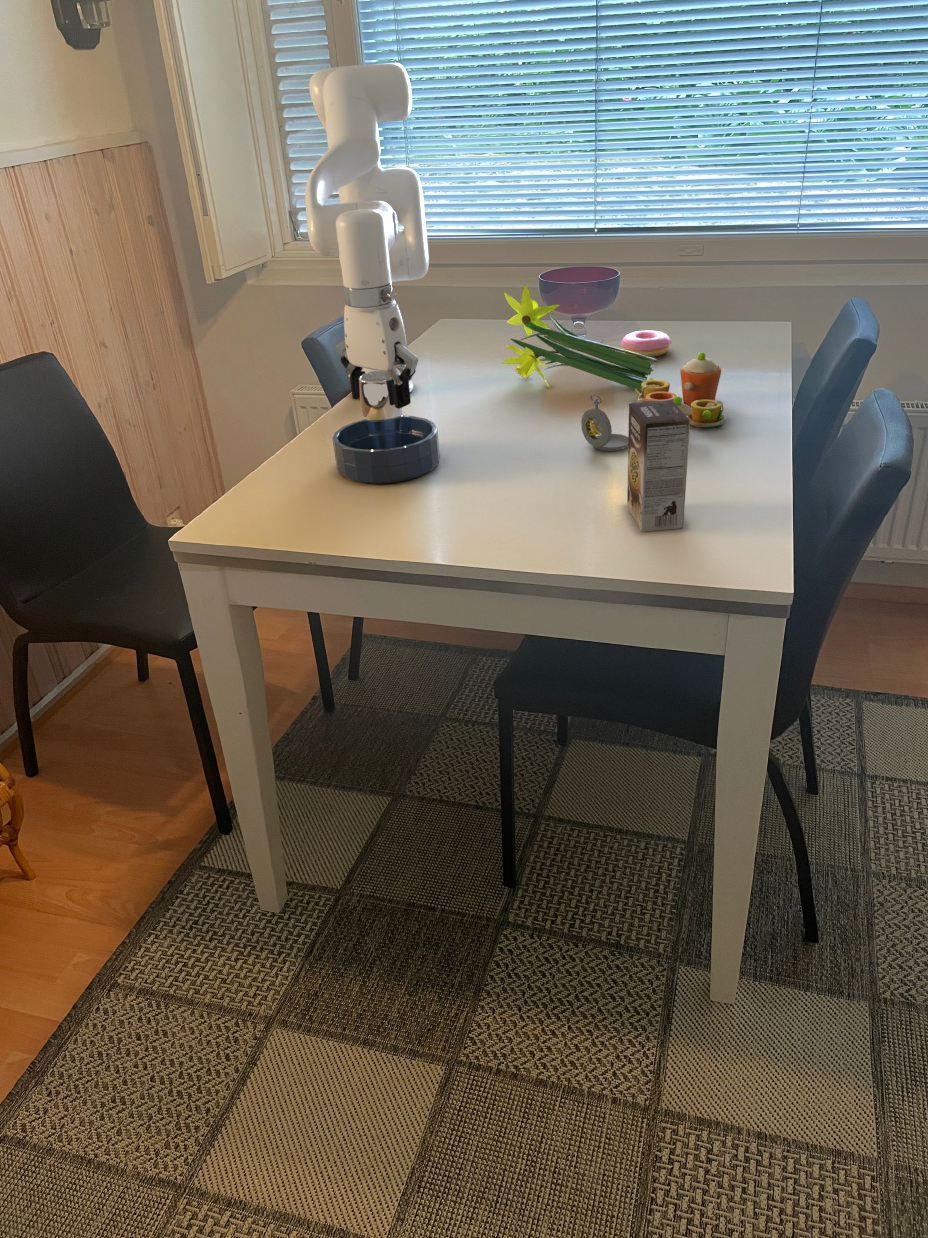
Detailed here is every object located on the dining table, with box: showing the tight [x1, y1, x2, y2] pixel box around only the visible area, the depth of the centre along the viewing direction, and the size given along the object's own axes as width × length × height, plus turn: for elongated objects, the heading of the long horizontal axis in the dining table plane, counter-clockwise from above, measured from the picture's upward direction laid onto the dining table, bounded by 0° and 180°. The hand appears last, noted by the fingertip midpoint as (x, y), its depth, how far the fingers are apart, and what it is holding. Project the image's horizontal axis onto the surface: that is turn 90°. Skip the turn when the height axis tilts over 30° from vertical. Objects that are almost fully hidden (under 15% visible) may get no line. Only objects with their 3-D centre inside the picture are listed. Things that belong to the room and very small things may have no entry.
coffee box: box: [626, 400, 691, 533], centre depth 133 cm, size 9×6×16 cm
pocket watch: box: [580, 394, 628, 452], centre depth 160 cm, size 8×8×10 cm
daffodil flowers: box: [500, 284, 657, 392], centre depth 192 cm, size 17×15×35 cm
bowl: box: [331, 415, 441, 485], centre depth 160 cm, size 18×18×6 cm
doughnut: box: [620, 329, 672, 358], centre depth 210 cm, size 11×11×4 cm
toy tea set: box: [635, 352, 726, 428], centre depth 171 cm, size 26×16×10 cm, turn 176°
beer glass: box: [359, 371, 404, 450], centre depth 158 cm, size 7×7×15 cm
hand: (381, 401), depth 157 cm, fingers open, 9 cm apart
